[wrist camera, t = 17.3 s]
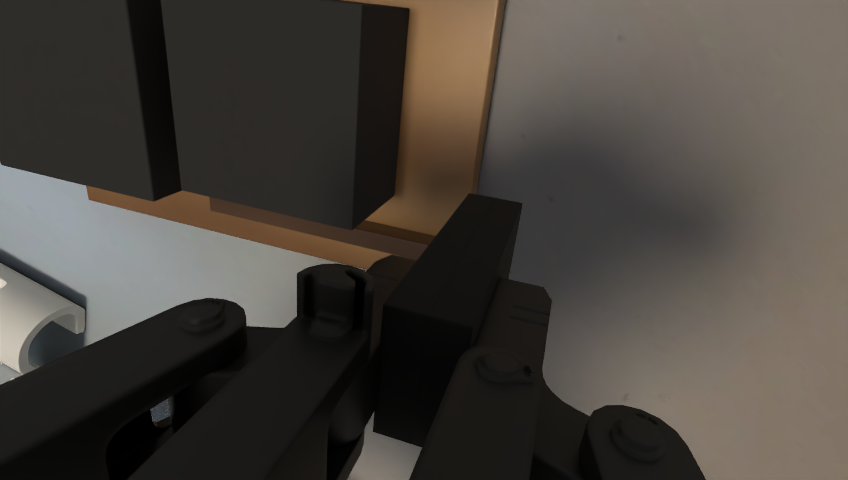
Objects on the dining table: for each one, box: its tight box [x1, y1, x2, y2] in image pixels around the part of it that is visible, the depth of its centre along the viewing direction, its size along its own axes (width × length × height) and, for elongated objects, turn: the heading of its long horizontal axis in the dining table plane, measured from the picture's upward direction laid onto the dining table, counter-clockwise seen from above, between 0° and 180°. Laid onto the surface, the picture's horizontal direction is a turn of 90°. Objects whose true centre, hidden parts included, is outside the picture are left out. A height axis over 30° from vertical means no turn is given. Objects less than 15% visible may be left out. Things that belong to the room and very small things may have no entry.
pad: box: [0, 0, 182, 202], centre depth 20 cm, size 8×8×4 cm
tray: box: [86, 0, 505, 270], centre depth 21 cm, size 14×20×2 cm
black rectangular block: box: [161, 0, 409, 230], centre depth 18 cm, size 7×7×4 cm
